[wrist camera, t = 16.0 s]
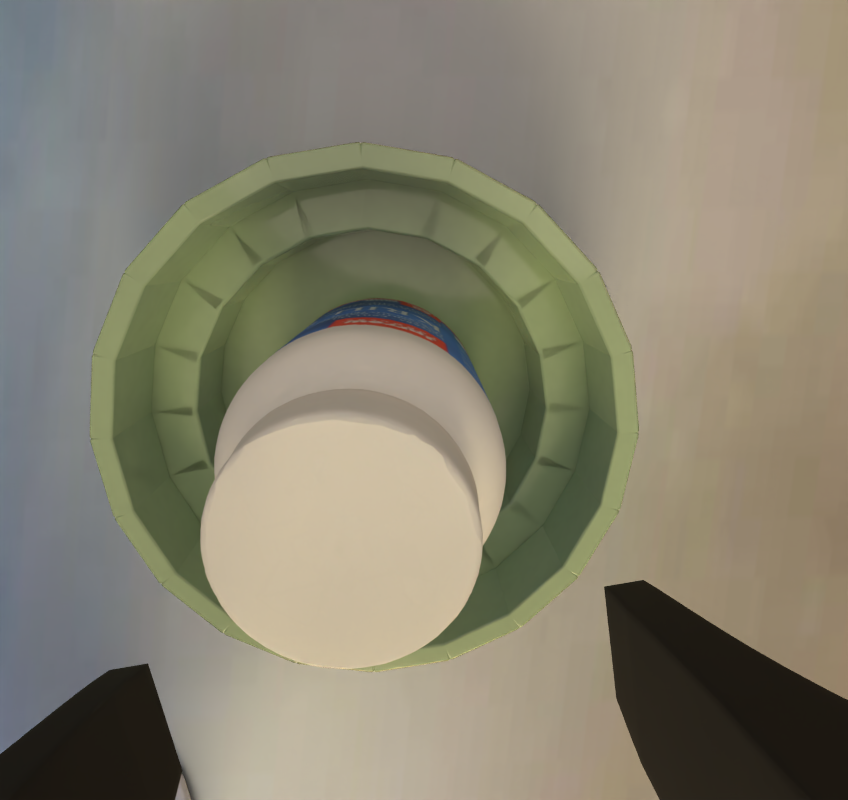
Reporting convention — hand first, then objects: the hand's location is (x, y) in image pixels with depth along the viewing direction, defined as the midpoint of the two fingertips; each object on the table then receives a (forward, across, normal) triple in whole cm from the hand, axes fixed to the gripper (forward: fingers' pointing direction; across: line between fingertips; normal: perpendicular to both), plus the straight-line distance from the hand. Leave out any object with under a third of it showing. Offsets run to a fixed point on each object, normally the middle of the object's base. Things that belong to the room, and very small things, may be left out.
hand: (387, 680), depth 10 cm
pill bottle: (+10, 0, -2) cm, 10 cm away
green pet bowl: (+10, 0, -3) cm, 10 cm away
